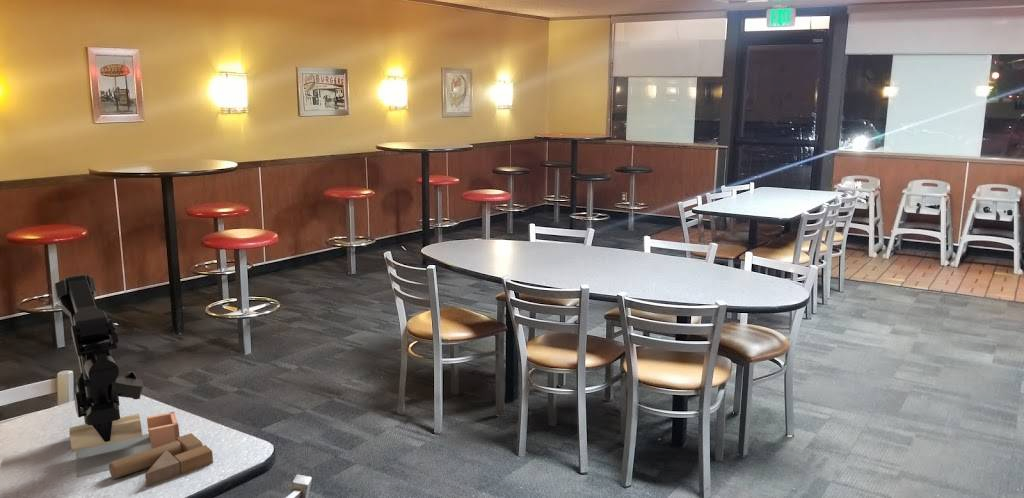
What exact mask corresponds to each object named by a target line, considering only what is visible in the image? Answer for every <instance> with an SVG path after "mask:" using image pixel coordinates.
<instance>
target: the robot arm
mask: <svg viewBox="0 0 1024 498" xmlns="http://www.w3.org/2000/svg"><path fill="white" fill-rule="evenodd" d="M53 289H54V291H53V292H54V296H55V301H58V302H59V305H60V309H61V310H62V312H64V313H65V314H66V315H67V316H68V317H69V318H70V323H71V326H70V328H71V331H70V332H71V336H72V341H73V345H74V349H75V352H76V353H75V354H76V356H77V359H78V363H79V370H80V376H79V378H78V381H77V382H76V392H74V407H75V412H76V414H77V417H78V418H82V417H83V418H84V419H83V420H84V424H88V425H93V427H94V428H95V429H96V431H97V432H98V433H99V435H100V436H101V437H102V439H103V440H104V442H108V441H110V438H111V429H112V421H116V420H119V419H120V417H121V414H120V397H121V398H130V399H133V400H140V399H141V396H142V393H143V388H144V383H143V380H142V379H141V378H139V377H138V378H137V375H136V372H135V371H127V372H126V373H125V374H124V375H121V376H119V375H120V369H119V366H118V365H117V363H116V361H115V360H114V358H113V357H112V354H111V350H116V349H118V346H117V345H118V343H119V337H118V333H117V329H116V326H115V325H116V324H115V323H114V322H113V320H112V319H111V318H110V319H108V316H107V314H106V312H105V311H104V310H102V309H100V308H98V307H97V305H96V302H95V297H94V296H96V295H97V287H96V281H95V277H90V276H89V274H78V275H70V276H66V277H65V278H63V279H62V280H59V281H57V282H55V283H54V287H53ZM110 340H111V341H110Z"/></svg>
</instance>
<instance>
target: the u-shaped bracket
mask: <svg viewBox="0 0 1024 498" xmlns="http://www.w3.org/2000/svg"><path fill="white" fill-rule="evenodd" d="M146 424H147V432H148V434H149V439H150V440H151V448H152V449H153V448H156V447H159V446H162V445H165V444H168V443H171V442H174V441H176V438H178V437H181V436H180V428H179V422H178V419H177V416H176V412H175V411H171V412H166V413H161V414H155V415H151V416H147V417H146Z"/></svg>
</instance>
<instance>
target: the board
mask: <svg viewBox="0 0 1024 498" xmlns="http://www.w3.org/2000/svg"><path fill="white" fill-rule="evenodd" d="M150 449H152V448H151V440H150V439H149V433H146V434H142V437H138V438H133V439H128V440H124V441H119V442H114V443H109V444H105V445H100V446H95V447H90V448H86V449H81V450H76V451H75V453H76V455H75V456H76V457H75V458H76V461H75V462H76V478H81V477H86V476H89V475H94V474H99V473H103V472H107V471H109V463H111V462H113V461H116V460H119V459H122V458H125V457H128V456H131V455H134V454H137V453H140V452H144V451H147V450H150Z"/></svg>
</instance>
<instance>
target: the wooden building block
mask: <svg viewBox="0 0 1024 498" xmlns="http://www.w3.org/2000/svg"><path fill="white" fill-rule="evenodd" d="M68 435H69V440H70V441H69V442H70V446H71V447H70V448H71V452H76V450H81V449H86V448H90V447H95V446H100V445H105V444H109V443H114V442H119V441H124V440H128V439H133V438H138V437H142V435H143V431H142V422H141V417H140V413H136V414H131V415H127V416H120V419H119V420H116V421H112V429H111V438H110V441H108V442H104V440H103V439H102V437H101V436H100V435H99V433H98V432H97V431H96V429H95V428H94V427H93V425H88V424H85V423H84V424H81V425H80V424H79V425H74V426H70V427H69V434H68Z"/></svg>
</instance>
